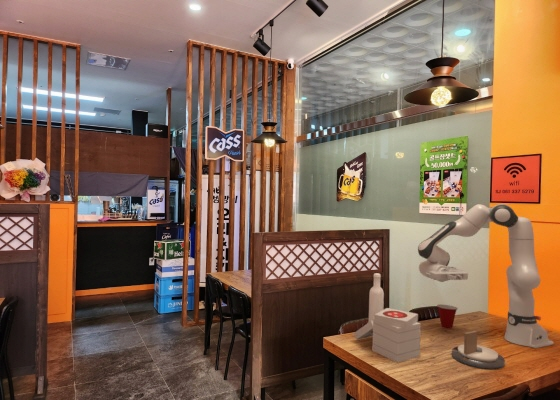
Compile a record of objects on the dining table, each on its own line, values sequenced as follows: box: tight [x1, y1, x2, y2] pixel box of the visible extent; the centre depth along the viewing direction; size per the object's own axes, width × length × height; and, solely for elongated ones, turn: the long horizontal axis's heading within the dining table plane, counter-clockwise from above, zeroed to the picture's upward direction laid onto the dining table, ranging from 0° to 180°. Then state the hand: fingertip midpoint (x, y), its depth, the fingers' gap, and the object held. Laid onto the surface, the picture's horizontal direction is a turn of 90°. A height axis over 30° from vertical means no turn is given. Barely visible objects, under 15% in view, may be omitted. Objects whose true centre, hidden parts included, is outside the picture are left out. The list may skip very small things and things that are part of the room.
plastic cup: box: [436, 304, 459, 330], centre depth 216 cm, size 11×11×12 cm
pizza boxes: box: [353, 307, 422, 363], centre depth 180 cm, size 19×30×18 cm, turn 31°
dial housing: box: [451, 346, 506, 371], centre depth 171 cm, size 21×21×2 cm
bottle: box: [367, 272, 385, 323], centre depth 210 cm, size 8×8×30 cm
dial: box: [457, 330, 499, 362], centre depth 171 cm, size 16×16×10 cm
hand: (458, 278), depth 193 cm, fingers closed
